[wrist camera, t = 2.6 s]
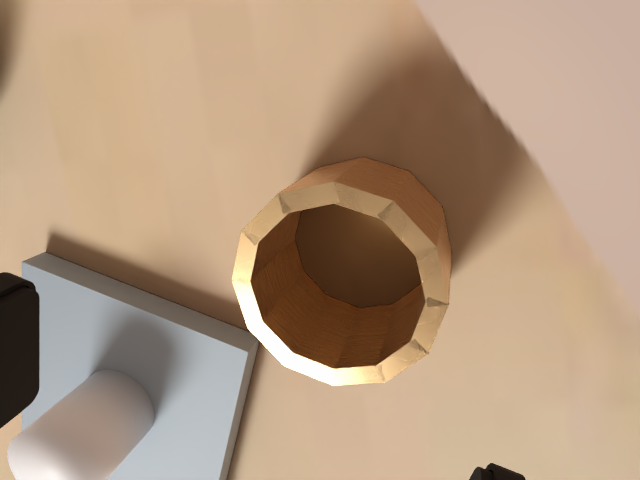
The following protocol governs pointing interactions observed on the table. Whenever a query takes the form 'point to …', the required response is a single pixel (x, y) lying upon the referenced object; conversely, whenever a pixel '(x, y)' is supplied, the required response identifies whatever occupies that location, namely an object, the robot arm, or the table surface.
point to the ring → (329, 313)
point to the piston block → (128, 383)
